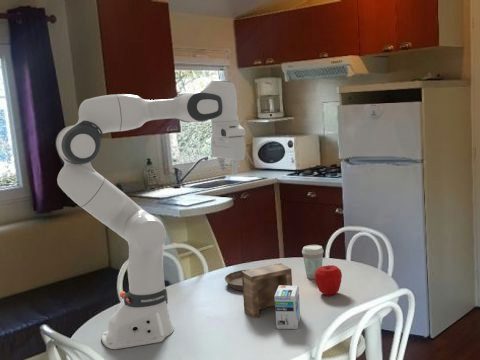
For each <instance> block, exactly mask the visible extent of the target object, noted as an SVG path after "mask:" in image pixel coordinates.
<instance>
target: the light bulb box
mask: <svg viewBox="0 0 480 360" xmlns="http://www.w3.org/2000/svg"><path fill="white" fill-rule="evenodd" d="M274 297H275V306H274V307H275V323H276V329H277V330H298V327H299V323H300V321H301V304H300V303H301V302H300V287H299V285H292V286H283V285H279V287H278V289H277V291H276V294H275V296H274Z"/></svg>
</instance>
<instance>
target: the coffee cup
mask: <svg viewBox="0 0 480 360" xmlns="http://www.w3.org/2000/svg"><path fill="white" fill-rule="evenodd" d="M324 252H325V250H324V249H323V246H322V245H319V244H309V245H305V246H303V248H302V250H301V253H302V257H303V262H304V269H305V273H306V278H307V279H309V280H315V272H316V270H317V269H318V268H320V267H322V266H323V258H324V257H323V256H324Z"/></svg>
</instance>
